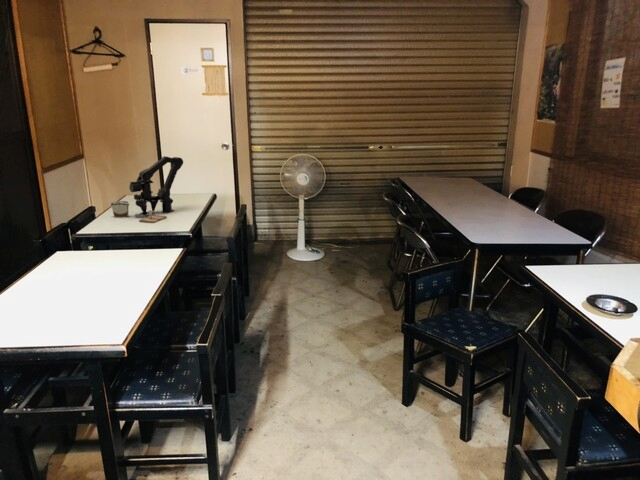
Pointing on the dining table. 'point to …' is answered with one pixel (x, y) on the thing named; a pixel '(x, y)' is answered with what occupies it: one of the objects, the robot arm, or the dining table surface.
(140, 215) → the steel link
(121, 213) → the food container
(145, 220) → the keeper board
